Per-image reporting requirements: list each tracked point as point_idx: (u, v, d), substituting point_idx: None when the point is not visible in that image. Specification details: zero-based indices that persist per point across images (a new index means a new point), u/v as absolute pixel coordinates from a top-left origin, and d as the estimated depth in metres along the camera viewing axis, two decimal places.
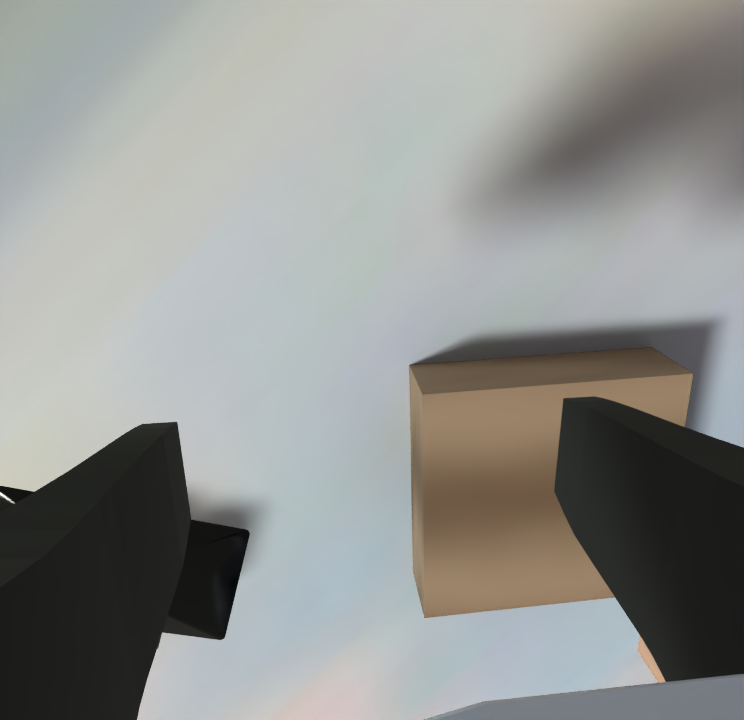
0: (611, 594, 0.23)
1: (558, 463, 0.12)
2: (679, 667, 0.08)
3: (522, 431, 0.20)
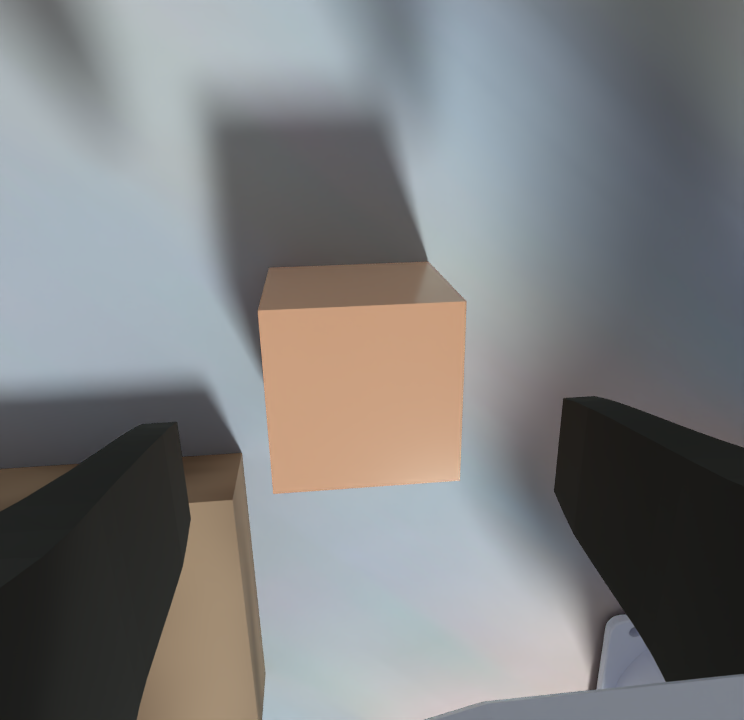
0: (234, 556, 0.17)
1: (558, 463, 0.12)
2: (679, 667, 0.08)
3: None
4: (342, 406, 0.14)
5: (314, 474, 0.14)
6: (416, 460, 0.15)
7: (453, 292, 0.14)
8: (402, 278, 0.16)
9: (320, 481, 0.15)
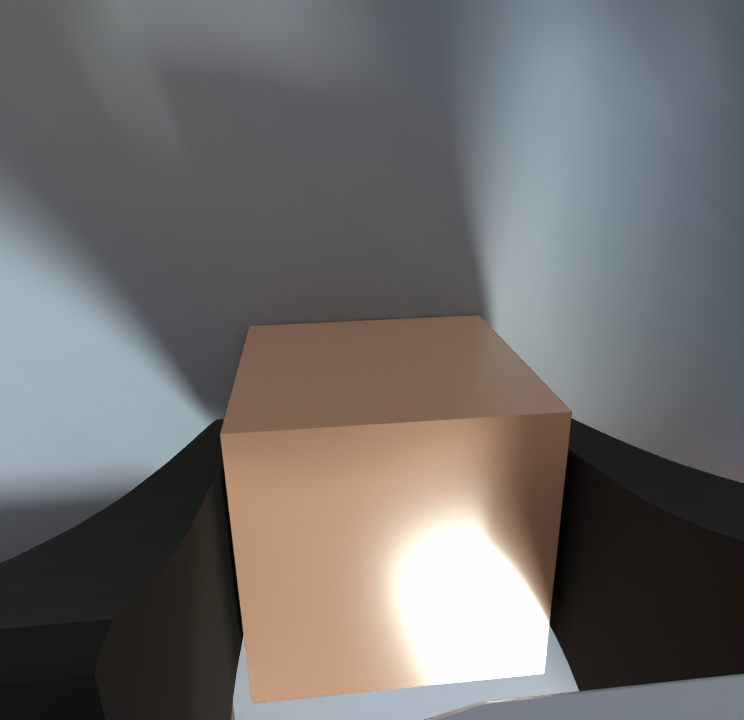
0: None
1: None
2: (589, 677, 0.08)
3: None
4: (364, 576, 0.09)
5: (317, 674, 0.09)
6: (478, 648, 0.09)
7: (541, 388, 0.09)
8: (451, 352, 0.10)
9: (326, 683, 0.09)
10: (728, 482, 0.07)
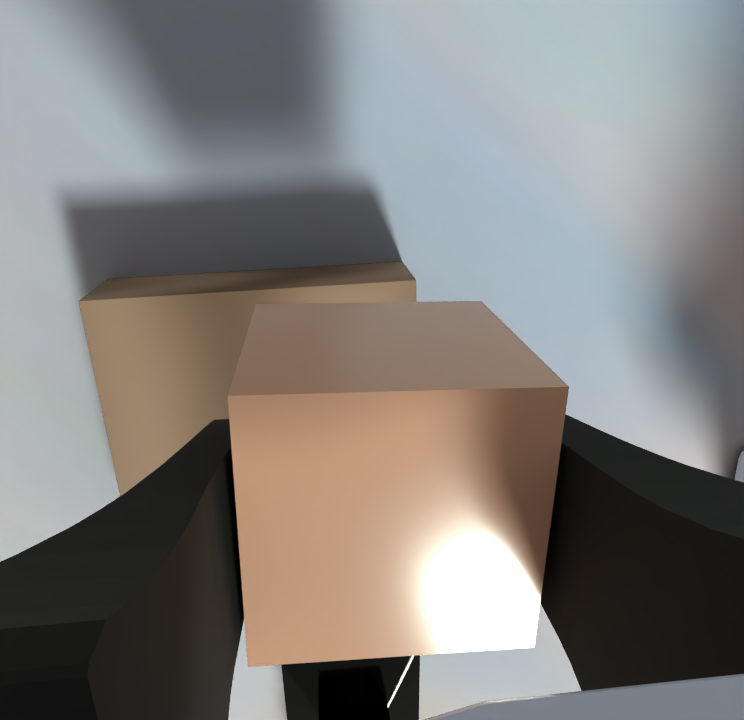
0: None
1: None
2: (591, 676, 0.08)
3: None
4: (361, 543, 0.09)
5: (312, 639, 0.09)
6: (471, 620, 0.09)
7: (540, 365, 0.09)
8: (452, 333, 0.10)
9: (321, 649, 0.09)
10: (731, 482, 0.07)
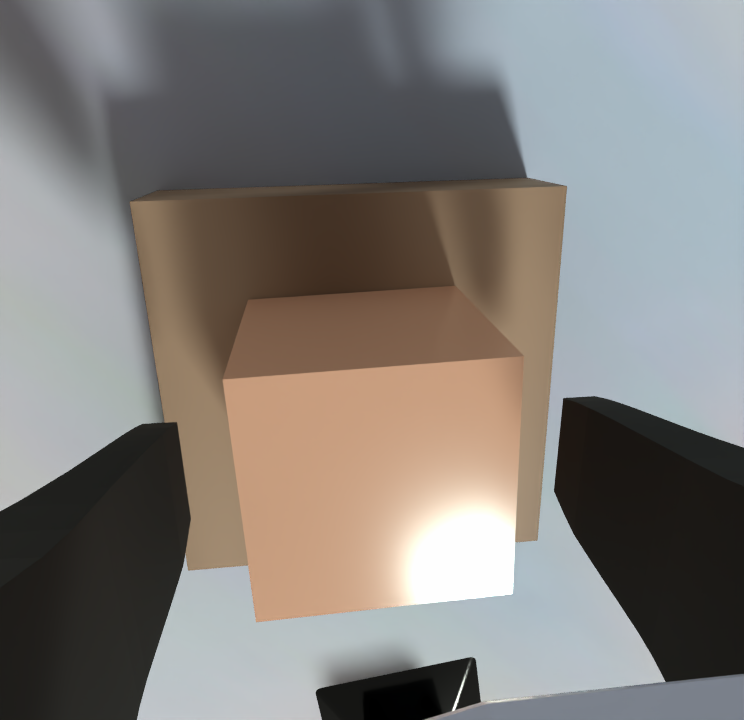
0: (553, 272, 0.14)
1: (558, 463, 0.12)
2: (679, 667, 0.08)
3: None
4: (349, 505, 0.10)
5: (312, 595, 0.10)
6: (453, 570, 0.11)
7: (501, 339, 0.10)
8: (425, 315, 0.12)
9: (321, 603, 0.11)
10: None
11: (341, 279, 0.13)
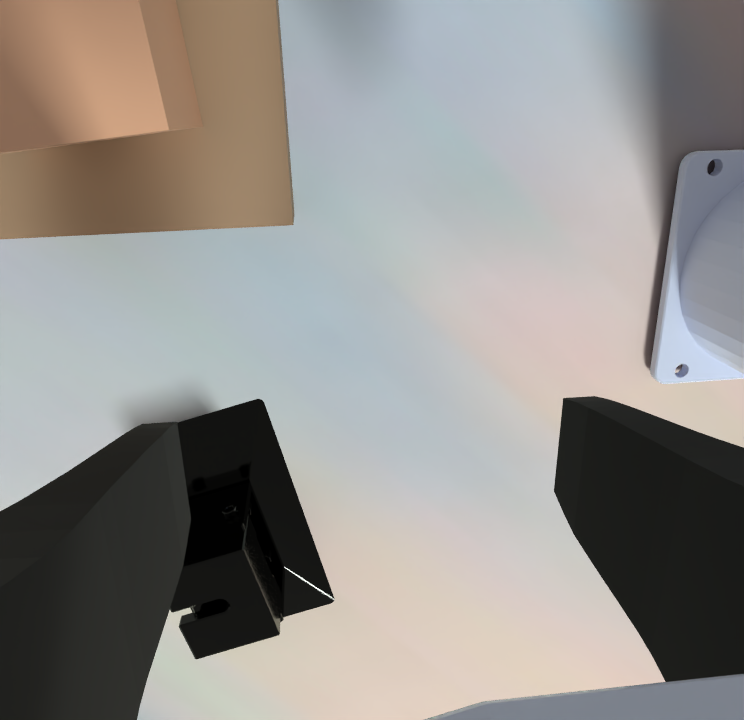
0: None
1: (558, 463, 0.12)
2: (679, 667, 0.08)
3: None
4: None
5: None
6: (102, 101, 0.11)
7: None
8: None
9: None
10: None
11: None
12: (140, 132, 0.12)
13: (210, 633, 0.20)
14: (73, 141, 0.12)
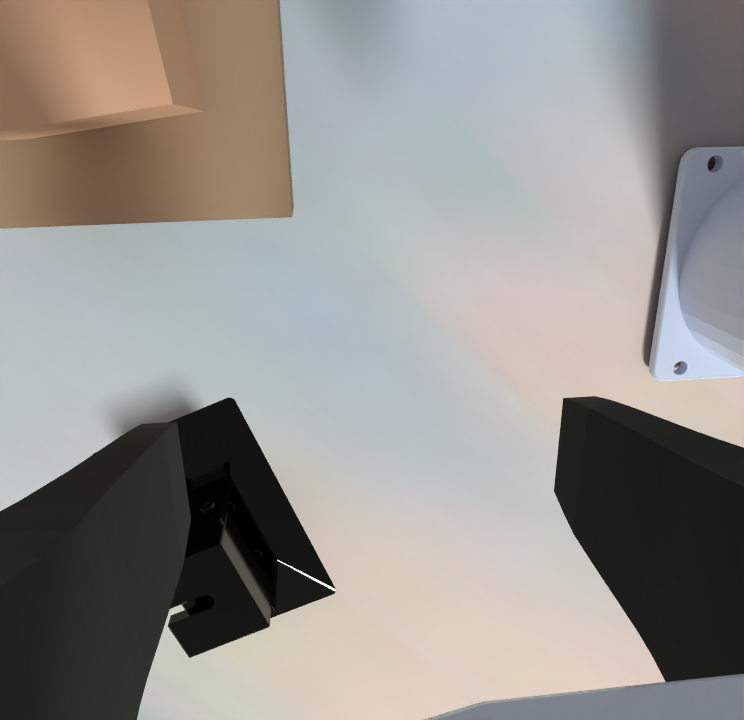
0: None
1: (558, 463, 0.12)
2: (679, 667, 0.08)
3: None
4: None
5: None
6: (105, 76, 0.11)
7: None
8: None
9: None
10: None
11: None
12: (144, 107, 0.12)
13: (200, 630, 0.20)
14: (77, 117, 0.12)
